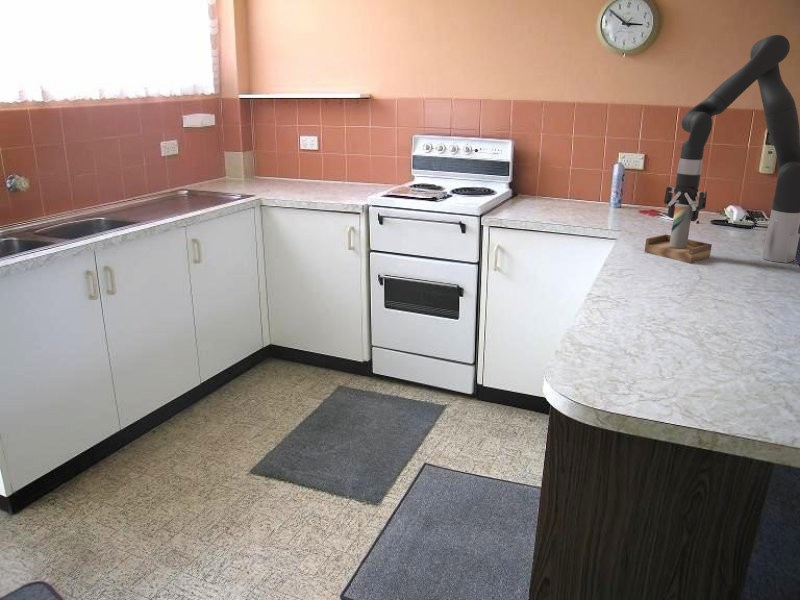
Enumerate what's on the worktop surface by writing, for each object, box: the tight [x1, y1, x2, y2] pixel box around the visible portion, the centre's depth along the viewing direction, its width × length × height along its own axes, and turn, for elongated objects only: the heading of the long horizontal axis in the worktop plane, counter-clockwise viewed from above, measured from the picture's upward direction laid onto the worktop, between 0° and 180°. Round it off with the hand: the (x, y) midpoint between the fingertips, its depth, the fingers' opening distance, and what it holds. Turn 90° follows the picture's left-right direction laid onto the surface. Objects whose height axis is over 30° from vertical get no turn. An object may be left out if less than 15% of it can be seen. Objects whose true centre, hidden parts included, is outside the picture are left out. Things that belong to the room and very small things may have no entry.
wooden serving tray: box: [644, 234, 713, 264], centre depth 236 cm, size 18×12×5 cm, turn 36°
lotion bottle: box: [670, 191, 693, 249], centre depth 233 cm, size 6×6×20 cm
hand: (682, 218), depth 233 cm, fingers open, 8 cm apart
